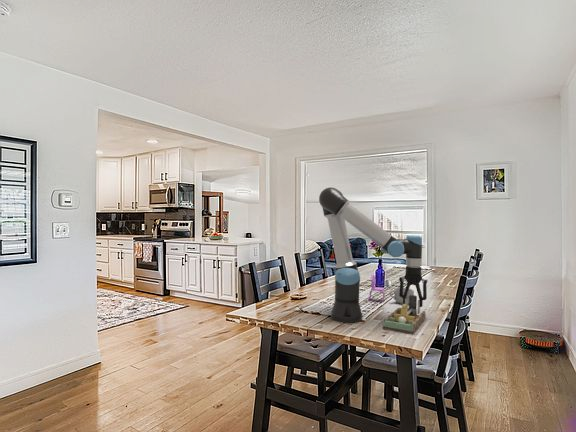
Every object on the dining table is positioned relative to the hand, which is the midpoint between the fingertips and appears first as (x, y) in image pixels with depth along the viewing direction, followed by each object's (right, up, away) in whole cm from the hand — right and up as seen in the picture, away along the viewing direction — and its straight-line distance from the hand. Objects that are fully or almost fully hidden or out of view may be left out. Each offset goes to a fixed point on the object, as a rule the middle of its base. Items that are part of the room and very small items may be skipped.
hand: (412, 312), depth 186 cm
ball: (-11, +1, -19) cm, 22 cm away
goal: (-13, -1, -22) cm, 26 cm away
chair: (-11, -2, +31) cm, 33 cm away
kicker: (-4, -1, -7) cm, 9 cm away
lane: (-8, -2, -13) cm, 16 cm away
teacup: (+2, -2, +26) cm, 26 cm away
